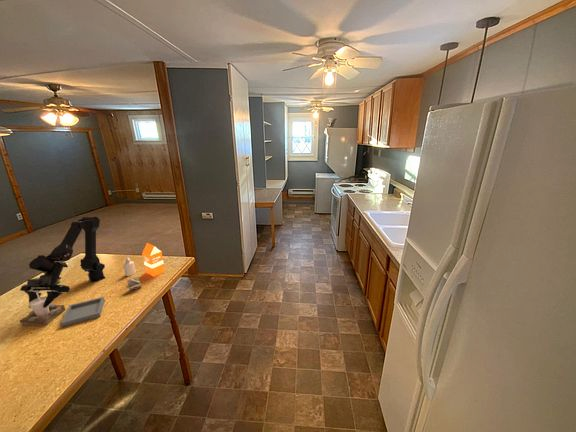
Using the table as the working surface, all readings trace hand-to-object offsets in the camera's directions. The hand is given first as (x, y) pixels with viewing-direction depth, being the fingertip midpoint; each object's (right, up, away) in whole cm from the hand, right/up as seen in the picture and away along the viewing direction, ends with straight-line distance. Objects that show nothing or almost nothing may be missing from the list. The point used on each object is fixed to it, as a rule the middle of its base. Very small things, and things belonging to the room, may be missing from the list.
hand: (37, 307), depth 110 cm
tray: (+17, -5, +7) cm, 19 cm away
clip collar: (0, -6, +4) cm, 7 cm away
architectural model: (+29, 0, +26) cm, 39 cm away
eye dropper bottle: (+17, +5, +41) cm, 44 cm away
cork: (-23, +2, +30) cm, 38 cm away
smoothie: (0, -6, +4) cm, 7 cm away
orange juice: (+31, +6, +43) cm, 54 cm away
